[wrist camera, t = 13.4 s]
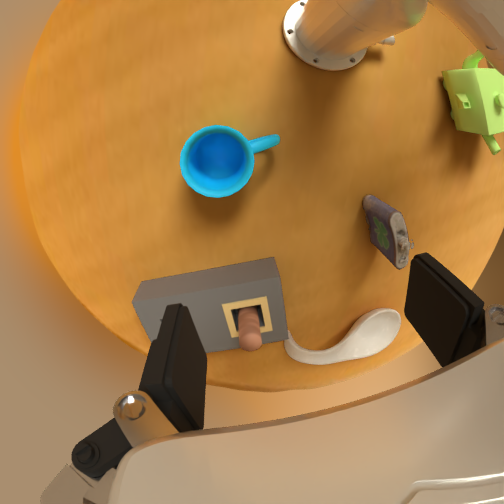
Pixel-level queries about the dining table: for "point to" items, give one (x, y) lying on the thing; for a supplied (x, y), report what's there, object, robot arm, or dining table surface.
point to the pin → (249, 328)
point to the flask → (387, 230)
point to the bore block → (218, 302)
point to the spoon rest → (353, 339)
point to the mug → (221, 159)
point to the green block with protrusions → (476, 99)
